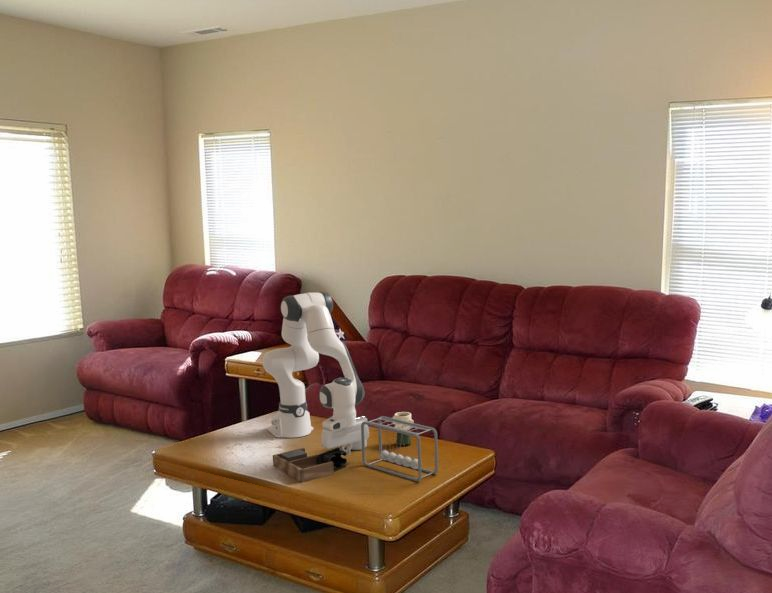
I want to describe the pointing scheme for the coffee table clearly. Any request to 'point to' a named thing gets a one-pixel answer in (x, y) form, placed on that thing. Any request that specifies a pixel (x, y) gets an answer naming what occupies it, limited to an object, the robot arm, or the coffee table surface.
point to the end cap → (333, 458)
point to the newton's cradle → (399, 458)
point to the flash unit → (293, 455)
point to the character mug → (404, 417)
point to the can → (358, 445)
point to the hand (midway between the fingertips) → (346, 454)
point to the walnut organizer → (303, 467)
